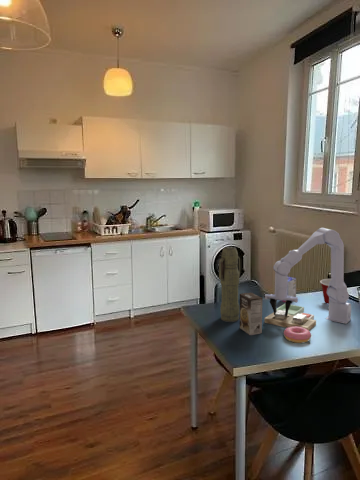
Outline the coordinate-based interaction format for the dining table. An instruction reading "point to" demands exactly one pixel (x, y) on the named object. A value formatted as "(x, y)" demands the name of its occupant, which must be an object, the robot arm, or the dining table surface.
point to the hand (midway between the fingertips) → (280, 315)
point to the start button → (307, 314)
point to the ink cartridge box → (291, 287)
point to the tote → (292, 309)
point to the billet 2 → (300, 319)
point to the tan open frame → (289, 322)
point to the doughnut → (297, 334)
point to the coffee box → (251, 313)
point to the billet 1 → (280, 315)
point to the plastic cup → (325, 289)
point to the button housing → (310, 317)
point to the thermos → (229, 284)
